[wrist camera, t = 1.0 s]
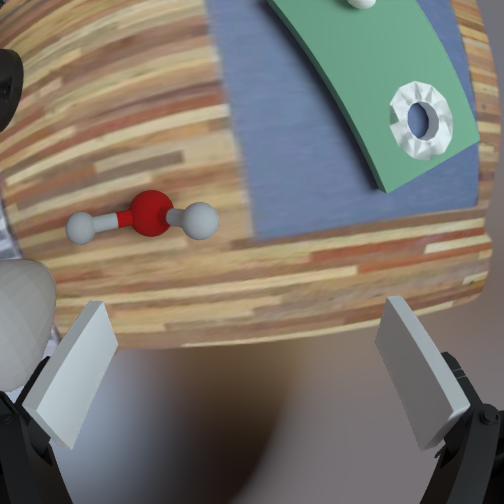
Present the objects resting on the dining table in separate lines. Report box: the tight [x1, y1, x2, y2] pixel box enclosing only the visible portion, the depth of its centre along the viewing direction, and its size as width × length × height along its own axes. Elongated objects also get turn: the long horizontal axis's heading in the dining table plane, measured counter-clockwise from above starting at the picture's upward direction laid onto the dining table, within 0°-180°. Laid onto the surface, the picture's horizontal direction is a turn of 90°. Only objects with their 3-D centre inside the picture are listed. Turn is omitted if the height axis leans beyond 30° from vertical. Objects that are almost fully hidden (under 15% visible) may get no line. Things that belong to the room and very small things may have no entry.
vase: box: [0, 259, 56, 392], centre depth 29 cm, size 18×18×25 cm
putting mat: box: [267, 0, 480, 194], centre depth 26 cm, size 28×18×2 cm, turn 32°
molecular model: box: [66, 190, 219, 245], centre depth 31 cm, size 18×6×10 cm, turn 91°
